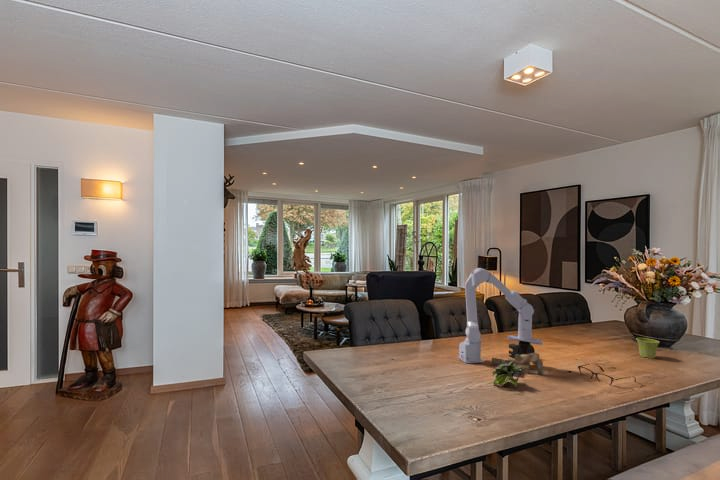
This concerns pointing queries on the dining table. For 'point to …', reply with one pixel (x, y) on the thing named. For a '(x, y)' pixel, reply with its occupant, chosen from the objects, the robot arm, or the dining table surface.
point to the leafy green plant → (506, 373)
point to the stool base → (524, 365)
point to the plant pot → (647, 347)
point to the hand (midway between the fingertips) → (524, 358)
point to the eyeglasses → (599, 373)
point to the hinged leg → (527, 358)
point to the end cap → (519, 350)
